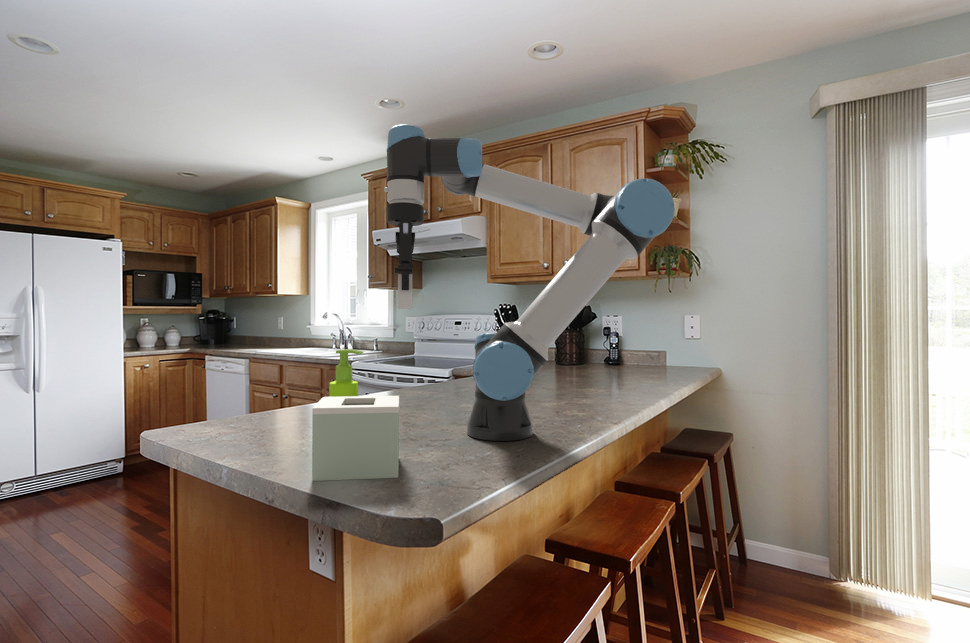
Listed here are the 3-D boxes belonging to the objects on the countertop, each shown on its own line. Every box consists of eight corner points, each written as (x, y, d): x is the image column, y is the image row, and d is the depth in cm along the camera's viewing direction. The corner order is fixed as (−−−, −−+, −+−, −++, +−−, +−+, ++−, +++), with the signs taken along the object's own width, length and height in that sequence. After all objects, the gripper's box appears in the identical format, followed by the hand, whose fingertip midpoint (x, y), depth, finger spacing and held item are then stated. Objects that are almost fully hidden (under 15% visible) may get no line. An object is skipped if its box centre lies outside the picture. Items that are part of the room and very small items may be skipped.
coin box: (398, 458, 101) (399, 395, 101) (398, 477, 89) (398, 406, 89) (322, 460, 99) (323, 396, 99) (312, 480, 87) (312, 408, 87)
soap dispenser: (355, 449, 108) (355, 350, 107) (323, 447, 109) (324, 350, 109) (367, 442, 113) (367, 349, 113) (337, 440, 115) (337, 348, 114)
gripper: (388, 215, 120) (387, 308, 120) (385, 189, 95) (384, 307, 96) (421, 216, 121) (420, 308, 122) (426, 191, 97) (425, 307, 97)
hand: (404, 308), depth 109 cm, fingers open, 13 cm apart
